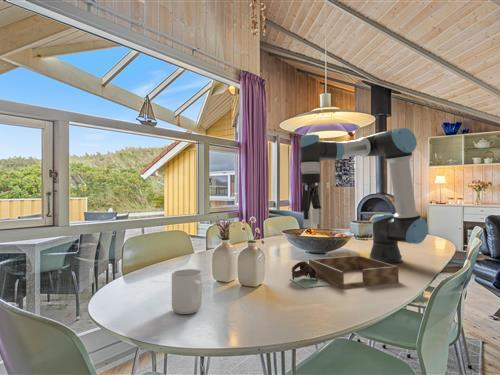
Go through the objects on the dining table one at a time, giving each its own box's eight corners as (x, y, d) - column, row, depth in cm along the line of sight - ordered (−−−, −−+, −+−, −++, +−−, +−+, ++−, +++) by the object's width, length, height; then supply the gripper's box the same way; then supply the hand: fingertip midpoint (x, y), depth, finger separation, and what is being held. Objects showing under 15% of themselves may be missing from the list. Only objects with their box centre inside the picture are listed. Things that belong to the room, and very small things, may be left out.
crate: (359, 268, 145) (358, 255, 145) (398, 281, 122) (398, 266, 122) (309, 273, 137) (309, 259, 137) (341, 288, 114) (341, 272, 114)
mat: (314, 277, 130) (314, 276, 130) (330, 285, 119) (330, 284, 119) (290, 279, 126) (290, 278, 127) (304, 288, 115) (304, 287, 115)
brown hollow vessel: (321, 284, 119) (311, 266, 118) (298, 294, 120) (289, 276, 119) (316, 269, 131) (307, 253, 129) (296, 279, 132) (287, 262, 131)
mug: (166, 309, 95) (166, 272, 95) (191, 302, 101) (191, 267, 101) (186, 320, 86) (186, 280, 87) (213, 312, 92) (213, 274, 92)
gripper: (309, 175, 139) (310, 222, 139) (291, 172, 117) (293, 229, 117) (326, 174, 136) (327, 223, 136) (311, 171, 114) (312, 229, 113)
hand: (311, 226), depth 126 cm, fingers open, 13 cm apart
